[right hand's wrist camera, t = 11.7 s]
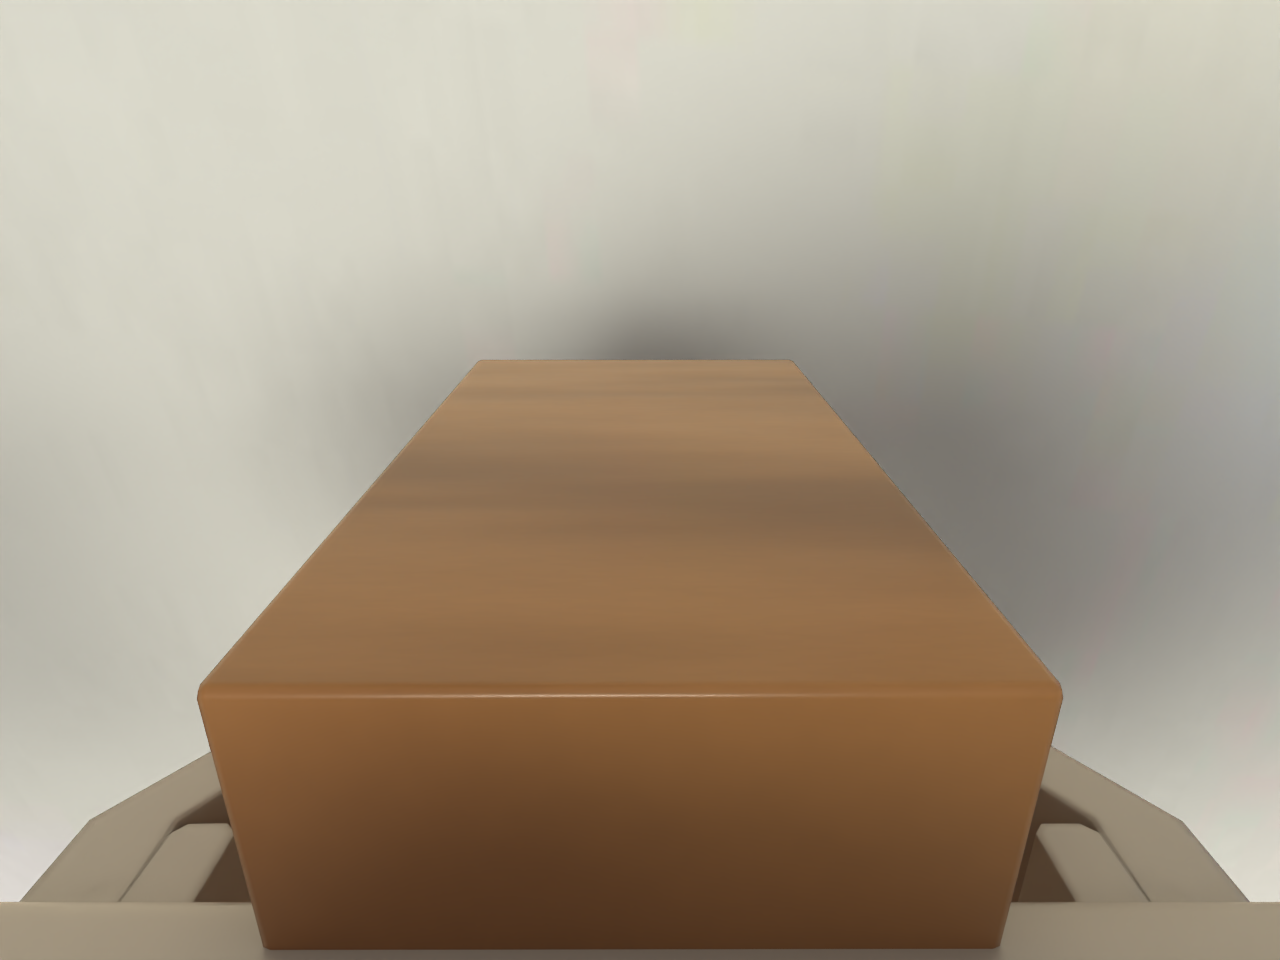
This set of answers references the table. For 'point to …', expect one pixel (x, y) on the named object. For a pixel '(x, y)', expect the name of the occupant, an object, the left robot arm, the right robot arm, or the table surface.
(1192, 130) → the table surface
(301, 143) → the table surface
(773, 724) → the bar
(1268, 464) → the table surface
